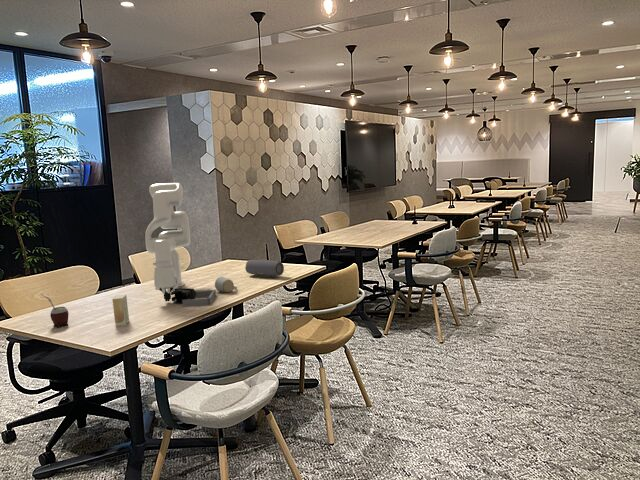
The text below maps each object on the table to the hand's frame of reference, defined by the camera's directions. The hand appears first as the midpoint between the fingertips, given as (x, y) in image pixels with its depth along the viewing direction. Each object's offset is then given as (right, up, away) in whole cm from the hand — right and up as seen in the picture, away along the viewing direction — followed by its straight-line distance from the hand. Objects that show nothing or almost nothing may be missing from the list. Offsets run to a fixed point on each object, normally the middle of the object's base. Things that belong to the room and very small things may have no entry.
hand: (167, 300), depth 253 cm
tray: (+15, 0, +1) cm, 15 cm away
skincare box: (-10, -7, -32) cm, 34 cm away
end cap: (+8, -1, 0) cm, 8 cm away
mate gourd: (-38, -8, -30) cm, 49 cm away
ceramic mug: (+26, +3, +19) cm, 32 cm away
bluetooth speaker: (+43, +8, +51) cm, 67 cm away
